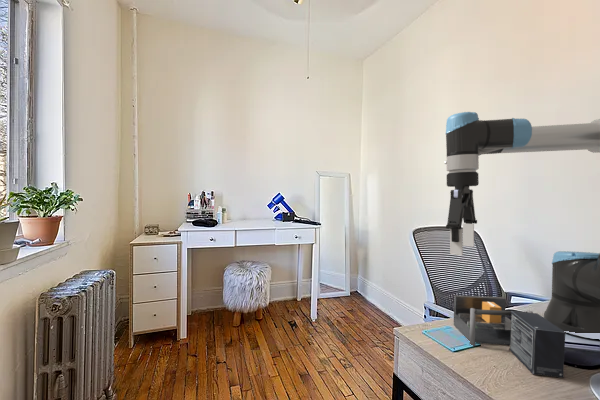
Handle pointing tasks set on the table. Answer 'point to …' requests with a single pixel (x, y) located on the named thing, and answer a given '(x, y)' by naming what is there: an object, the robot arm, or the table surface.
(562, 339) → the small box
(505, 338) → the dark gray open box
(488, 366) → the table surface
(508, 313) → the gray open frame
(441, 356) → the table surface
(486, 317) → the orange cardboard carton
